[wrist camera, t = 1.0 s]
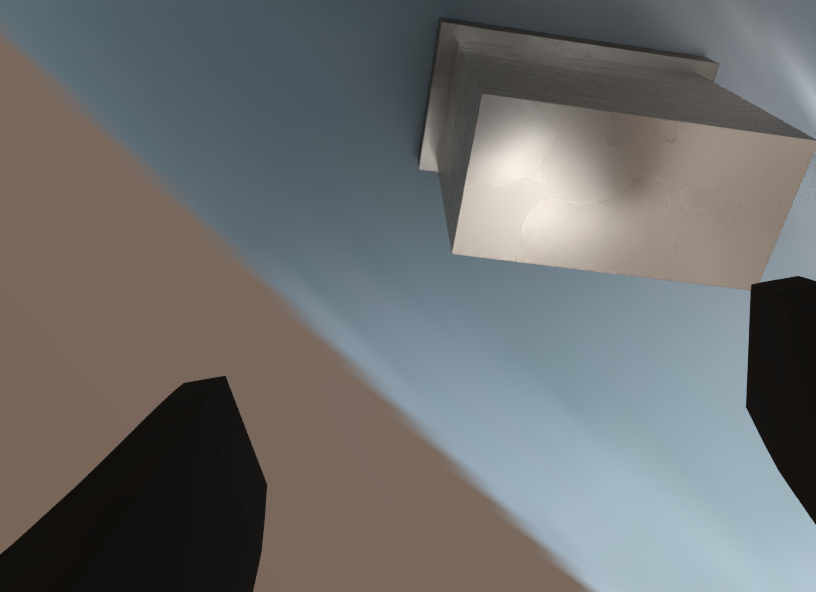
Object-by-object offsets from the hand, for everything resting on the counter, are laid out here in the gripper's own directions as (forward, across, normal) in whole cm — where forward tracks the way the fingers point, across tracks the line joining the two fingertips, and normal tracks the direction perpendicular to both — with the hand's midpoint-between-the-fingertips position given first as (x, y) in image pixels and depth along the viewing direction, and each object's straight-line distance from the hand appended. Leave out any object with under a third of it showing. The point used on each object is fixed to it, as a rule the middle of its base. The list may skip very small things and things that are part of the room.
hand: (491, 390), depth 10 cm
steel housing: (+10, -3, -1) cm, 11 cm away
